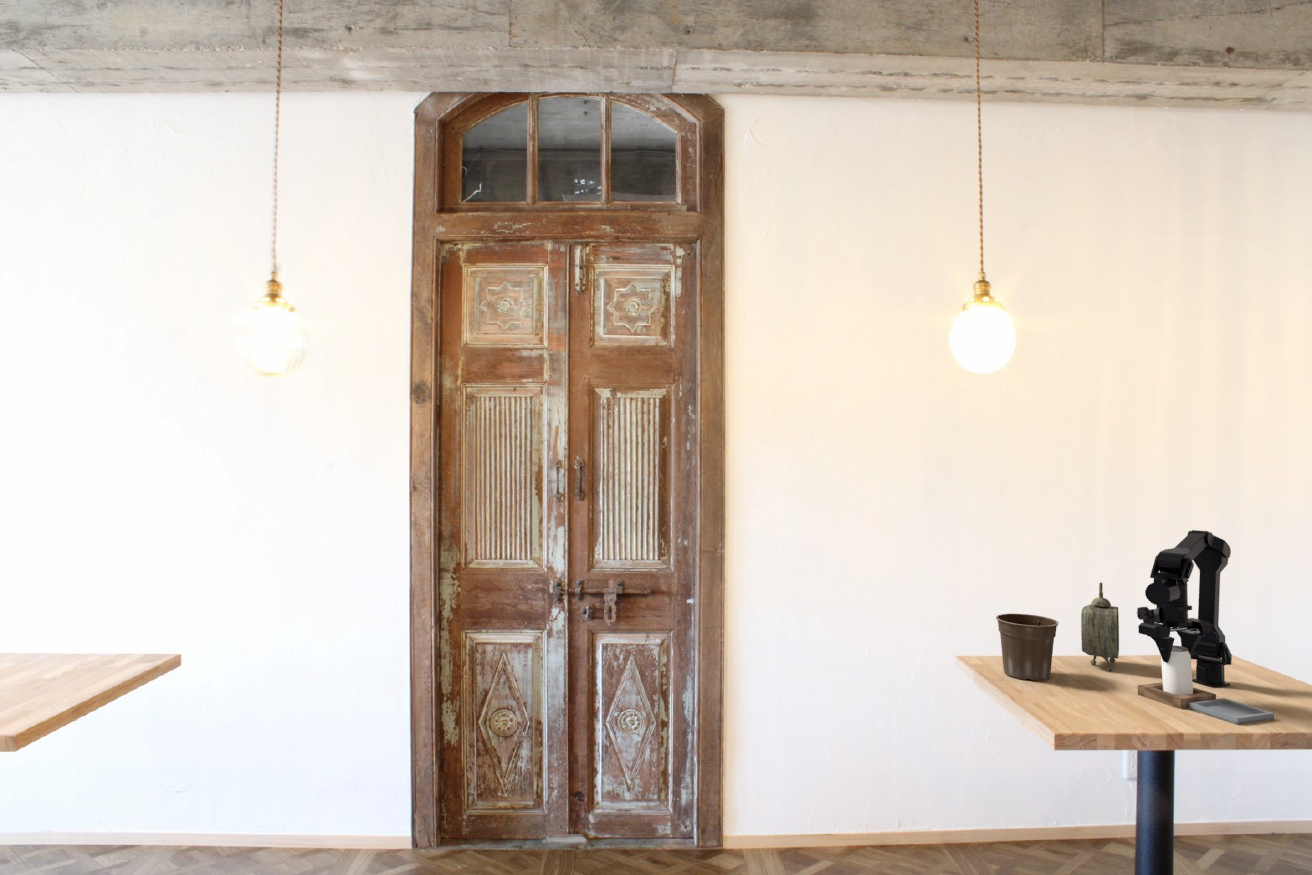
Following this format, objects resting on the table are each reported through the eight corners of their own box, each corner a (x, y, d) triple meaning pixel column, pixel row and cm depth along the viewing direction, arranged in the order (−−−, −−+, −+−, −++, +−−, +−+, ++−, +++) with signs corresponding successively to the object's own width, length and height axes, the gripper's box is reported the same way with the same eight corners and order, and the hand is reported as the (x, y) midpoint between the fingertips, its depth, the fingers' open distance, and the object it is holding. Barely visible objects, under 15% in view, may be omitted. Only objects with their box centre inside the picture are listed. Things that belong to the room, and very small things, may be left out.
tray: (1223, 703, 196) (1223, 698, 196) (1274, 719, 185) (1273, 713, 185) (1188, 708, 193) (1188, 702, 193) (1237, 724, 181) (1237, 718, 181)
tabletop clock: (1117, 674, 223) (1115, 587, 223) (1081, 669, 228) (1080, 584, 228) (1119, 662, 235) (1117, 580, 236) (1085, 658, 240) (1084, 578, 241)
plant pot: (1070, 677, 220) (1069, 620, 220) (1039, 687, 211) (1038, 627, 211) (1016, 664, 233) (1015, 611, 234) (985, 673, 224) (984, 617, 225)
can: (1198, 698, 196) (1195, 651, 196) (1169, 698, 198) (1167, 651, 198) (1186, 690, 203) (1183, 644, 203) (1158, 690, 204) (1156, 644, 204)
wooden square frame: (1172, 690, 207) (1171, 681, 208) (1216, 704, 196) (1216, 694, 196) (1137, 694, 204) (1137, 685, 204) (1180, 708, 192) (1180, 698, 192)
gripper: (1172, 593, 211) (1173, 650, 211) (1119, 597, 205) (1120, 656, 205) (1212, 600, 200) (1214, 660, 200) (1158, 605, 195) (1159, 667, 195)
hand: (1175, 660), depth 200 cm, fingers closed on can, 6 cm apart
